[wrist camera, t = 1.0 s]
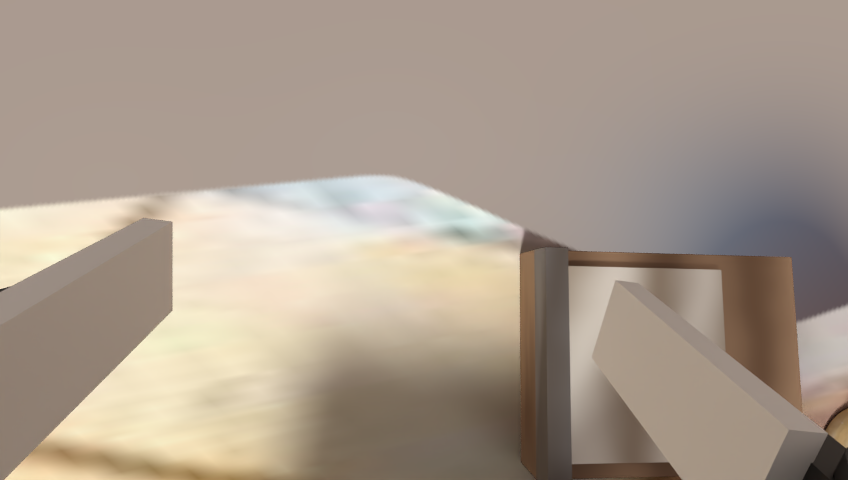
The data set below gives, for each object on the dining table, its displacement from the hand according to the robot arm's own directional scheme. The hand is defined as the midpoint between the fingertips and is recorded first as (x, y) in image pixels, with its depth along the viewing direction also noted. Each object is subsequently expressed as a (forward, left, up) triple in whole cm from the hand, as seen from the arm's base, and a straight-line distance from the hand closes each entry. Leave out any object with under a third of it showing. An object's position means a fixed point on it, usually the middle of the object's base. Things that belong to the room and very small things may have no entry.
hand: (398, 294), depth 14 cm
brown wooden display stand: (-13, -14, -18) cm, 26 cm away
